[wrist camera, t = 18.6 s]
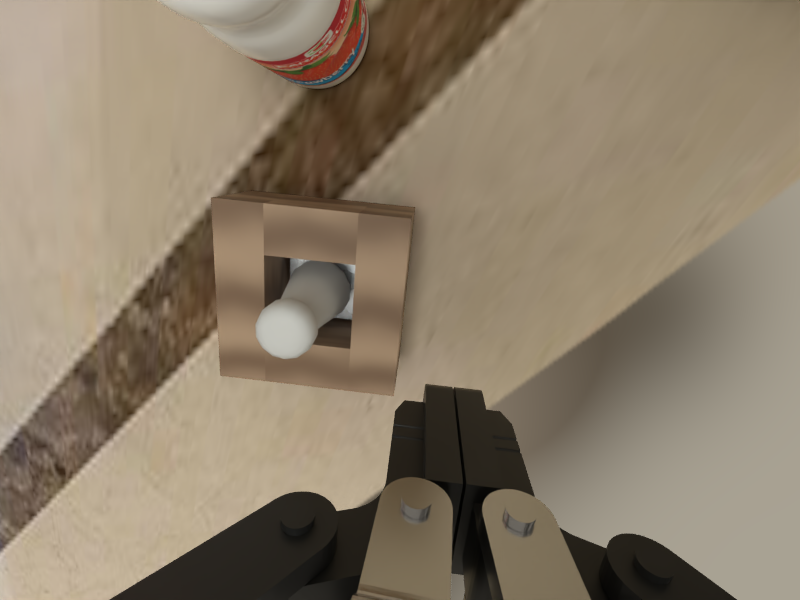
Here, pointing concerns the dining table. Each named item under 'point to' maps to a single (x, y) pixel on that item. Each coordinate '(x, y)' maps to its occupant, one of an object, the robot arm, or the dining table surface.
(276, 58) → the fruit juice
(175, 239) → the dining table surface
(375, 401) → the dining table surface
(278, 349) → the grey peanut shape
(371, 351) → the holder
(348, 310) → the white marbled square plate
